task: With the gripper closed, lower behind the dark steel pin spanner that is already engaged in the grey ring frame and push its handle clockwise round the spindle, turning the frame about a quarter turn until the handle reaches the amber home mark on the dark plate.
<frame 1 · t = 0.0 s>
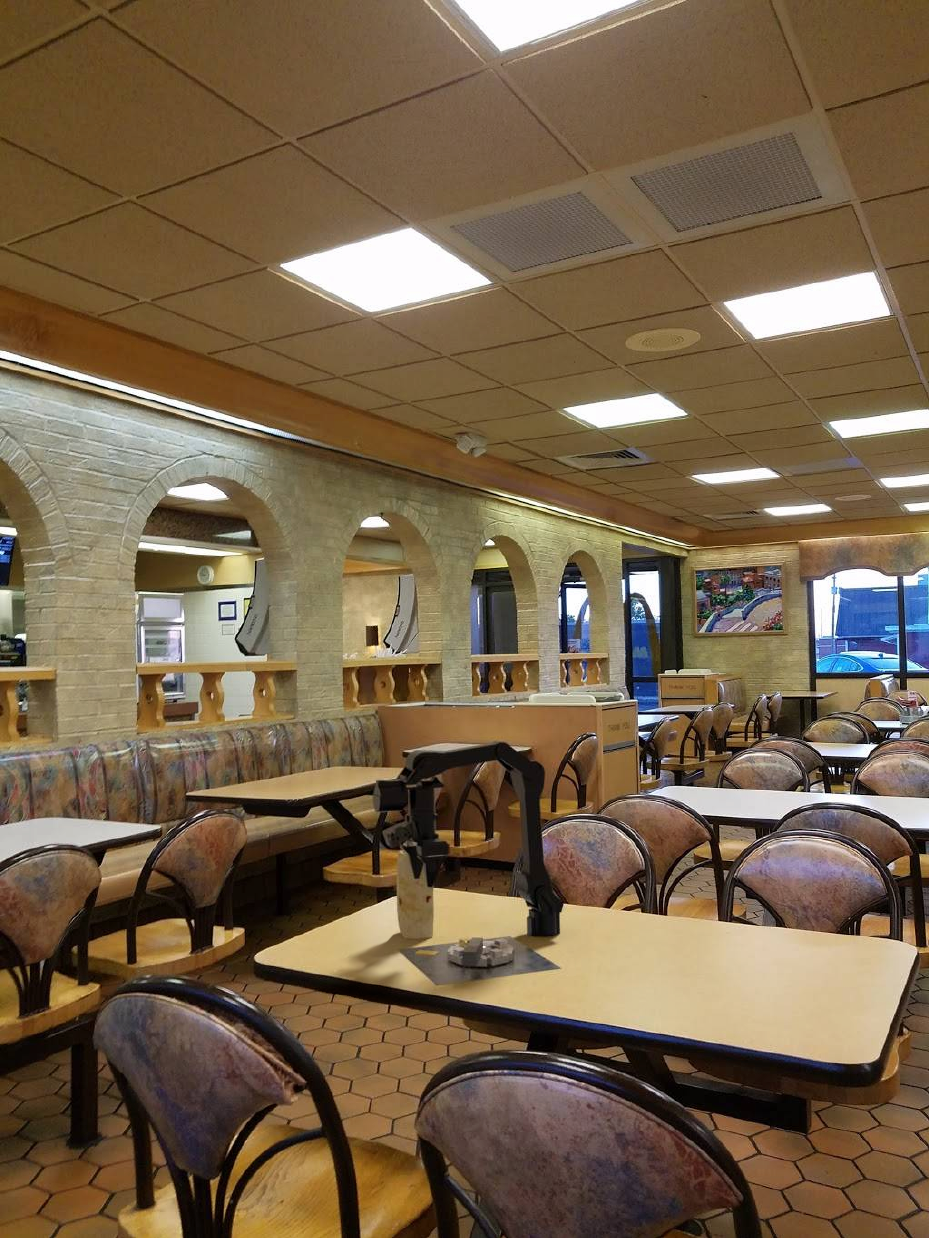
hand: (423, 882, 209), 15 cm above the table, fingers open, 9 cm apart
food model: (414, 939, 219), on the table
cap plate: (476, 963, 200), on the table
grey ring frame: (477, 949, 196), point 4 cm above the table, hinge at 0.0°
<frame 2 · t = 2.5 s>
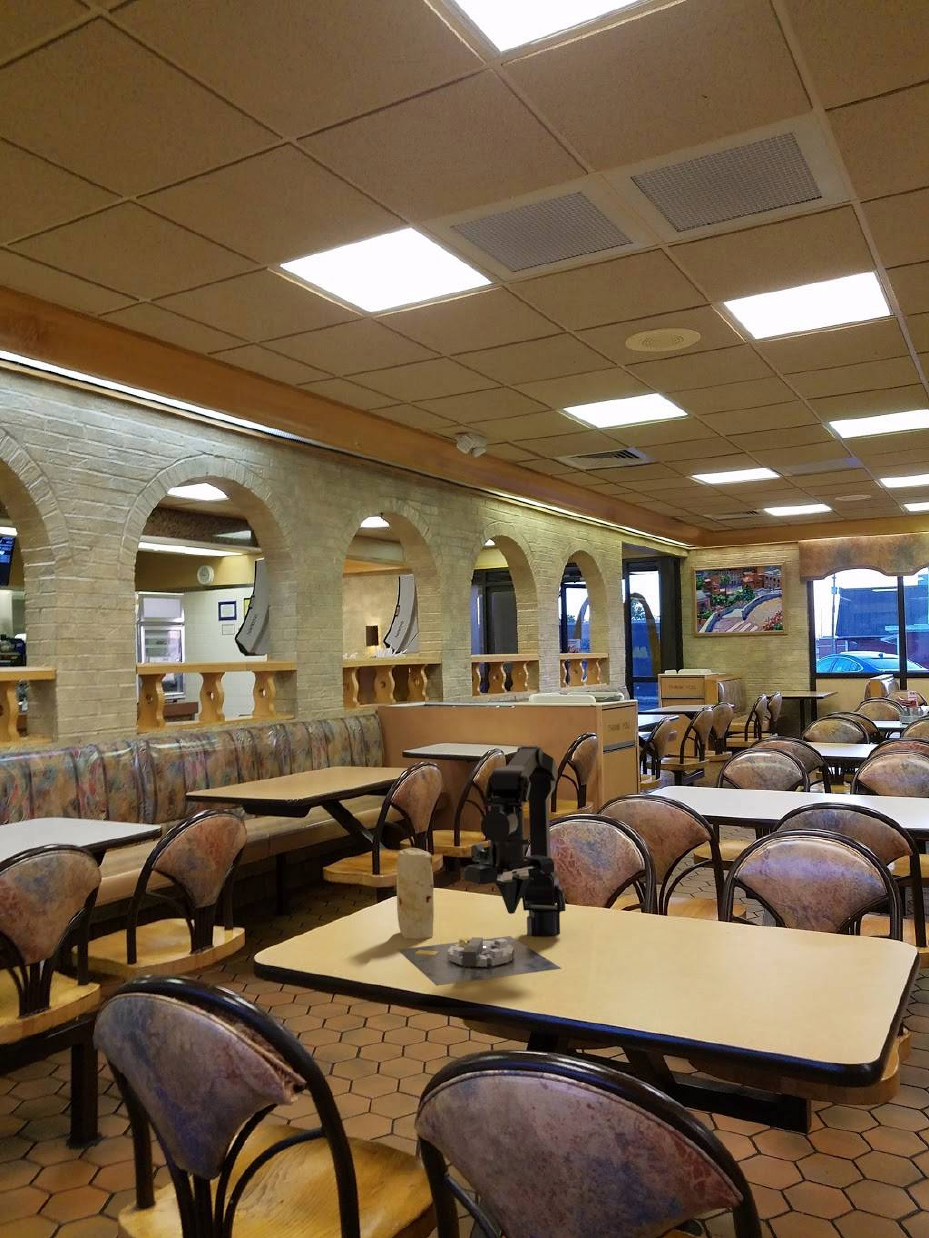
hand: (511, 913, 192), 12 cm above the table, fingers closed
nothing on the table moved.
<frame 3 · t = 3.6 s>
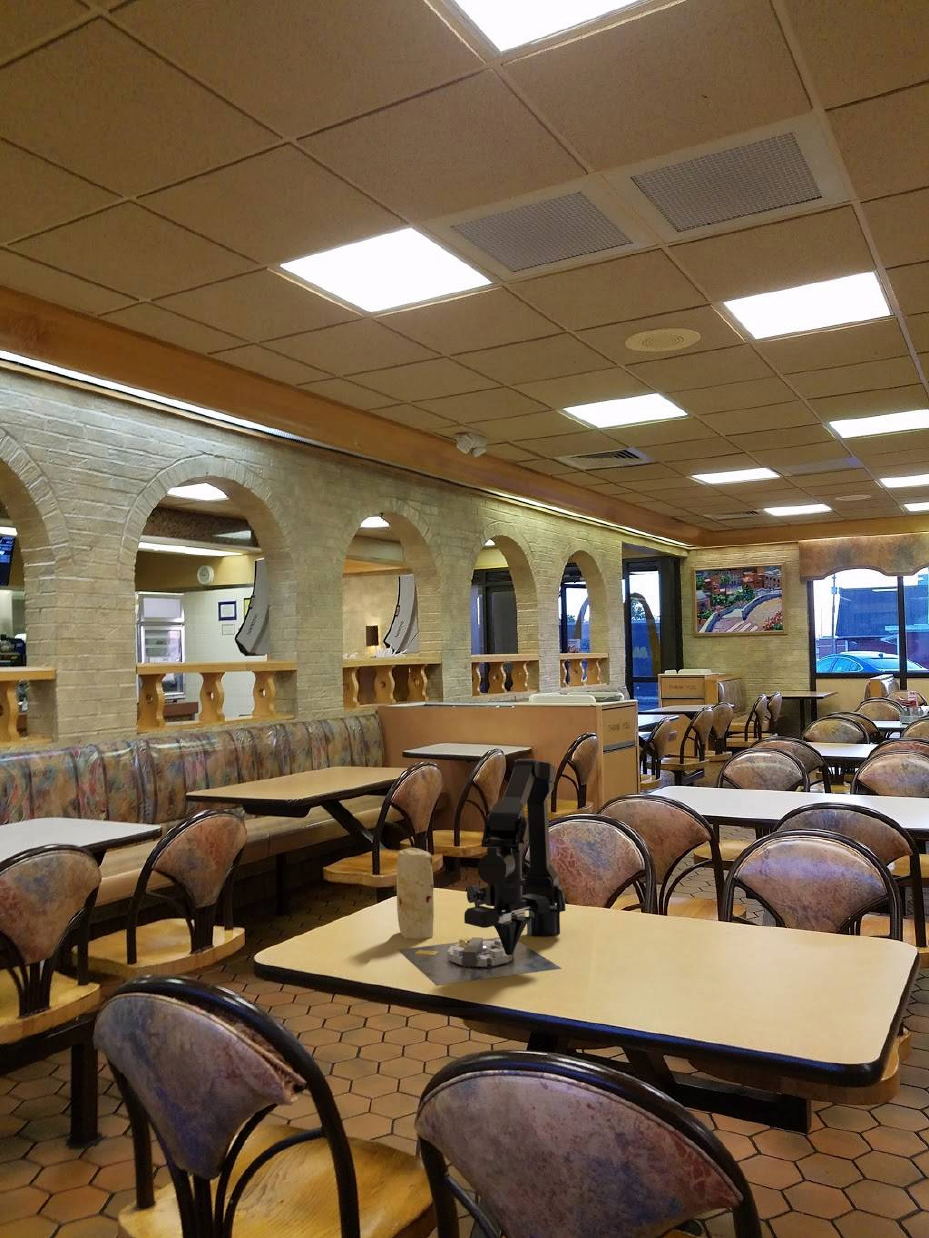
hand: (508, 954, 191), 4 cm above the table, fingers closed
nothing on the table moved.
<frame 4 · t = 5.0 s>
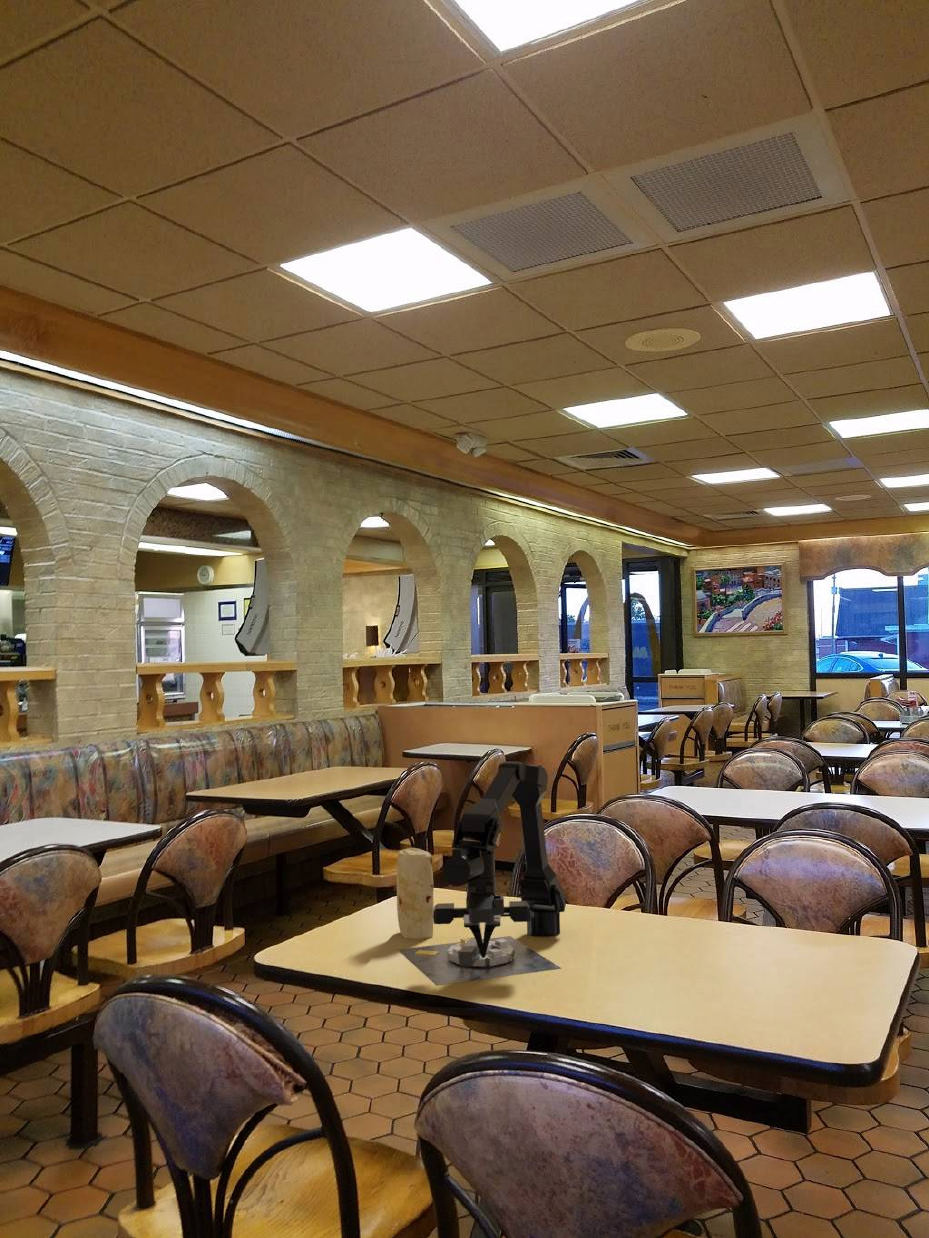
hand: (483, 957, 190), 4 cm above the table, fingers closed
grey ring frame: (476, 949, 196), point 4 cm above the table, hinge at 2.9°, touching gripper
everything else where it was.
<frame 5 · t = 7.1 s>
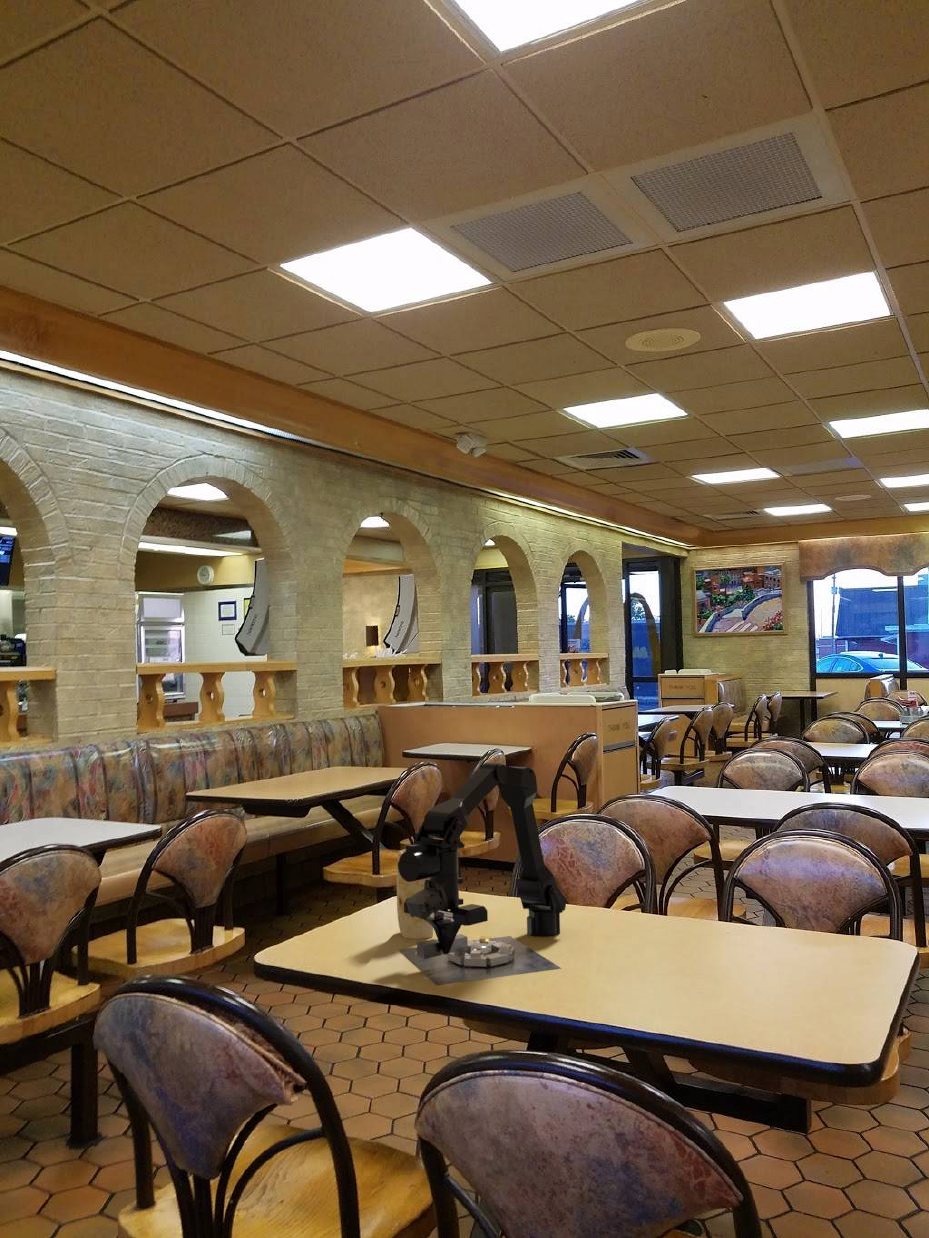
hand: (445, 953, 192), 4 cm above the table, fingers closed
grey ring frame: (464, 947, 198), point 4 cm above the table, hinge at 46.4°, touching gripper
everything else where it was.
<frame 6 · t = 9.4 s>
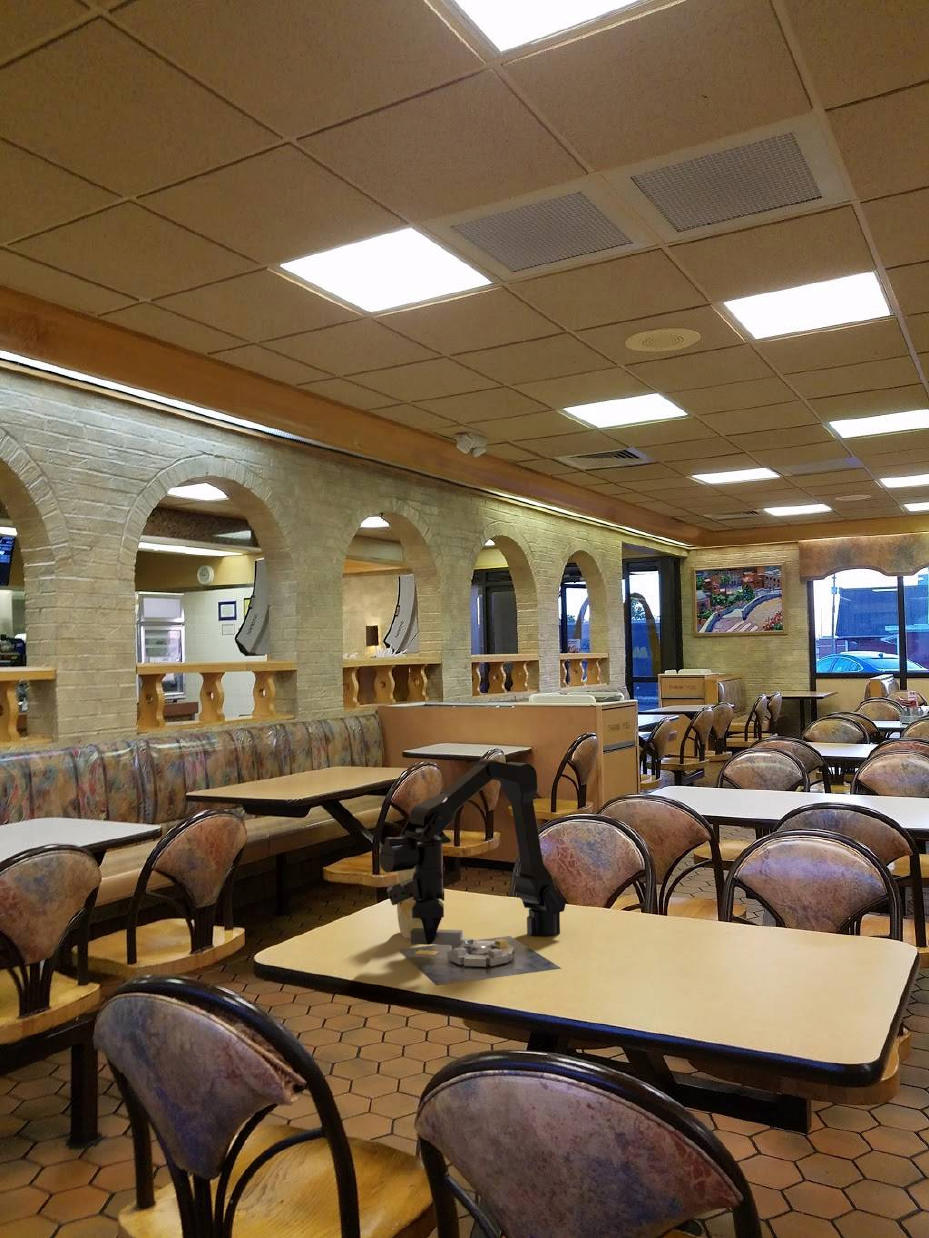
hand: (429, 943, 200), 4 cm above the table, fingers closed
grey ring frame: (461, 943, 201), point 4 cm above the table, hinge at 91.7°, touching gripper
everything else where it was.
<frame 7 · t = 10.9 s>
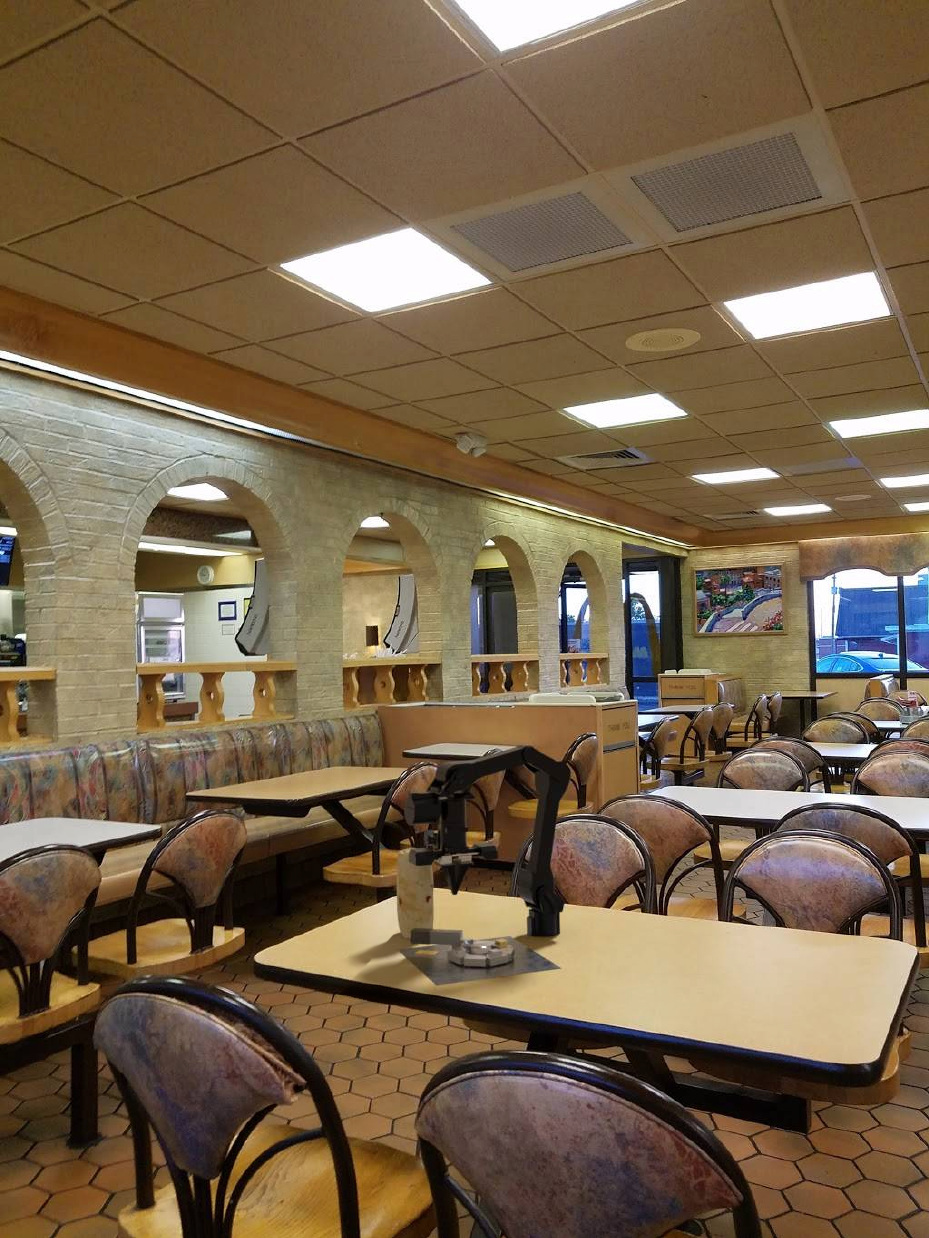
hand: (454, 894, 209), 12 cm above the table, fingers closed
grey ring frame: (461, 943, 201), point 4 cm above the table, hinge at 92.2°
everything else where it was.
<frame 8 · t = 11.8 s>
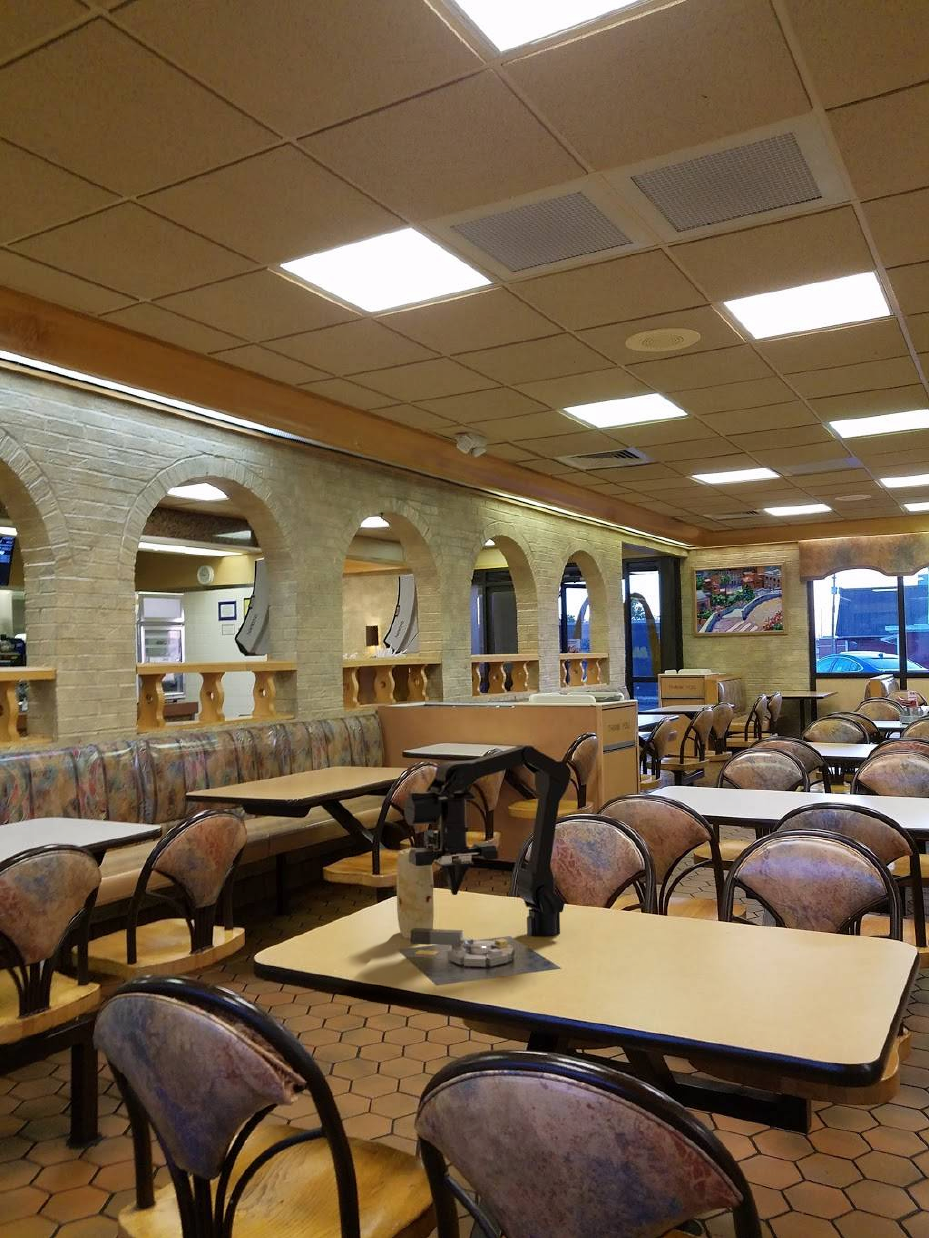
hand: (454, 894, 209), 12 cm above the table, fingers closed
nothing on the table moved.
at the end: grey ring frame at +92° (first picture: +0°); the gripper is holding nothing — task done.
